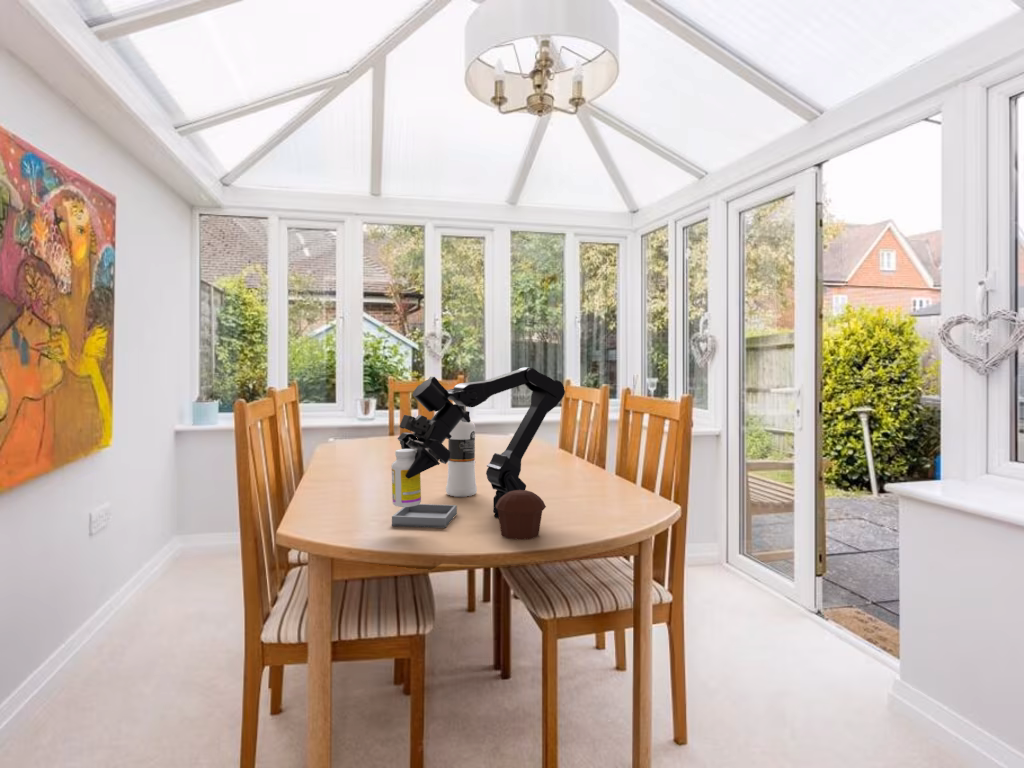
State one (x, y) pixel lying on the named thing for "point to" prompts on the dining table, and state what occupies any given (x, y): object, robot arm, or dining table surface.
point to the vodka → (462, 460)
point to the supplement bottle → (405, 480)
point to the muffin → (520, 514)
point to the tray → (425, 516)
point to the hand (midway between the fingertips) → (400, 475)
